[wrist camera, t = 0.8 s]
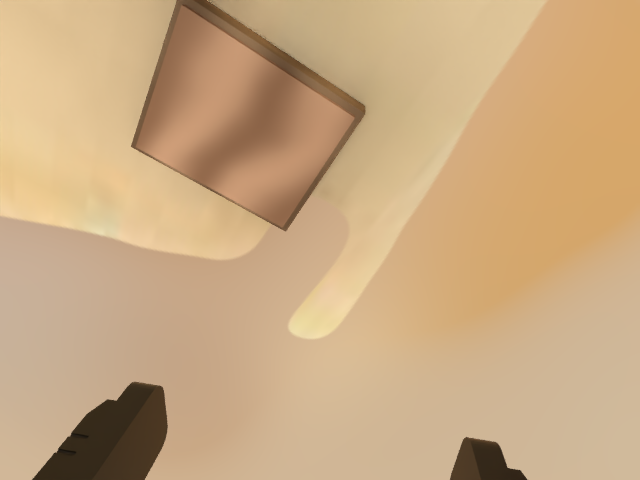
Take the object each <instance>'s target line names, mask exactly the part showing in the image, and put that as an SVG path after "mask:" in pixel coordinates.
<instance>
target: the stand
mask: <svg viewBox="0 0 640 480" xmlns="http://www.w3.org/2000/svg"><path fill="white" fill-rule="evenodd" d="M364 115H365V106H364V105H363V104H361V103H360V102H358V101H357V100H355V99H354V98H352V97H351V96H349V95H348V94H346V93H345V92H343V91H342V90H340V89H339V88H337V87H336V86H334V85H333V84H331V83H330V82H328V81H327V80H325V79H324V78H322V77H321V76H319V75H318V74H316V73H315V72H313V71H312V70H310V69H309V68H307V67H306V66H304V65H303V64H301V63H300V62H298V61H297V60H295V59H294V58H292V57H291V56H289V55H288V54H286V53H285V52H283V51H282V50H280V49H279V48H277V47H276V46H274V45H273V44H271V43H270V42H268V41H267V40H265V39H264V38H262V37H261V36H259V35H258V34H256V33H255V32H253V31H252V30H250V29H249V28H247V27H246V26H244V25H243V24H241V23H240V22H238V21H237V20H235V19H234V18H232V17H231V16H229V15H228V14H226V13H225V12H223V11H222V10H220V9H219V8H217V7H216V6H214V5H213V4H211V3H209V2H208V1H206V0H177V2H176V5H175V9H174V12H173V15H172V18H171V21H170V24H169V28H168V31H167V34H166V37H165V40H164V43H163V47H162V50H161V53H160V56H159V59H158V62H157V66H156V69H155V72H154V75H153V78H152V81H151V85H150V88H149V91H148V94H147V97H146V101H145V104H144V107H143V110H142V113H141V116H140V120H139V123H138V126H137V129H136V132H135V135H134V139H133V142H132V145H131V147H132V148H134V149H136V150H138V151H140V152H142V153H143V154H145V155H147V156H149V157H151V158H153V159H154V160H156V161H158V162H160V163H162V164H163V165H165V166H167V167H169V168H171V169H173V170H174V171H176V172H178V173H180V174H182V175H184V176H185V177H187V178H189V179H191V180H193V181H194V182H196V183H198V184H200V185H202V186H204V187H205V188H207V189H209V190H211V191H213V192H215V193H216V194H218V195H220V196H222V197H224V198H226V199H227V200H229V201H231V202H233V203H235V204H236V205H238V206H240V207H242V208H244V209H246V210H247V211H249V212H251V213H253V214H255V215H257V216H258V217H260V218H262V219H264V220H266V221H268V222H269V223H271V224H273V225H275V226H277V227H278V228H280V229H282V230H284V231H286V230H287V229H288V227H289V226H290V225H291V223H292V221H293V220H294V219H295V217H296V215H297V214H298V213H299V211H300V210H301V208H302V207H303V205H304V204H305V202H306V201H307V199H308V198H309V196H310V195H311V193H312V192H313V190H314V189H315V187H316V186H317V184H318V183H319V181H320V180H321V178H322V177H323V175H324V174H325V173H326V171H327V170H328V168H329V167H330V165H331V164H332V162H333V161H334V159H335V158H336V156H337V155H338V153H339V152H340V150H341V149H342V147H343V146H344V144H345V143H346V141H347V140H348V138H349V137H350V135H351V134H352V132H353V131H354V129H355V128H356V126H357V125H358V124H359V122H360V121H361V119H362V118H363V116H364Z"/></svg>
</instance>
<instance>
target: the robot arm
mask: <svg viewBox="0 0 640 480" xmlns="http://www.w3.org/2000/svg"><path fill="white" fill-rule="evenodd" d="M167 426H168V425H167V415H166V406H165V397H164V390H163V387H161V386H157V385H151V384H145V383H139V382H132V383H131V384H130V385H129V386H128V387H127V388H126V389H125V391H124V392H123V393H122V395H121V396H120V397H119V398H118V400H117V401H114V400H106V401H105V402H103V403H102V404H101V405H99V406H98V407H96V408H95V409H93V410H92V411H91V412H89V413H88V414H87V415H86V416H85V417H84V418H83V419H82V421H81V422H80V423H79V424H78V425H77V427H76V428H75V429H74V430H73V432H72V433H71V436H70V437H67V439H66V440H65V441H64V442H63V443H62V445H61V446H60V447H59V448H58V451H57V453H54V454H53V456H52V457H51V458H50V459H49V460H48V461H47V463H46V464H45V465H44V466H43V468H42V469H41V470H40V471H39V472H38V473H37V475H36V476H35V477H34V478H33V479H32V480H145V478H146V476H147V474H148V472H149V471H150V469H151V467H152V465H153V463H154V462H155V460H156V458H157V456H158V454H159V452H160V451H161V449H162V447H163V444H164V441H165V438H166V434H167ZM450 480H527V479H526V477H525V476H524V475H523V473H522V472H521V471H520V470H515V469H509V468H507V465H506V462H505V459H504V456H503V454H502V450H501V448H500V446H499V445H498V444H497V443H496V442H491V441H485V440H480V439H474V438H468V437H466V438H464V440H463V442H462V445H461V448H460V450H459V453H458V456H457V459H456V462H455V465H454V468H453V471H452V474H451V478H450Z"/></svg>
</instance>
